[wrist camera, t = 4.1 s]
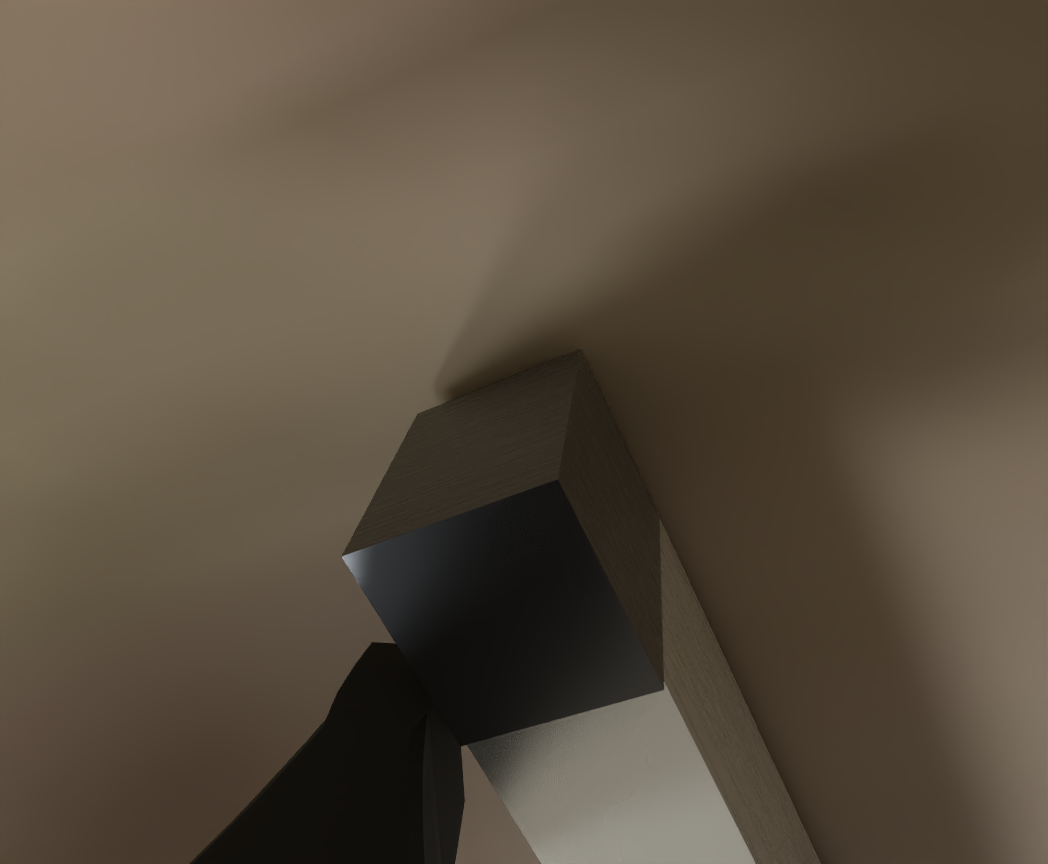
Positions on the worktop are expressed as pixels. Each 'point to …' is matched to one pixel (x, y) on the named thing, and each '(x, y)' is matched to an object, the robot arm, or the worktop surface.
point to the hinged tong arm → (567, 632)
